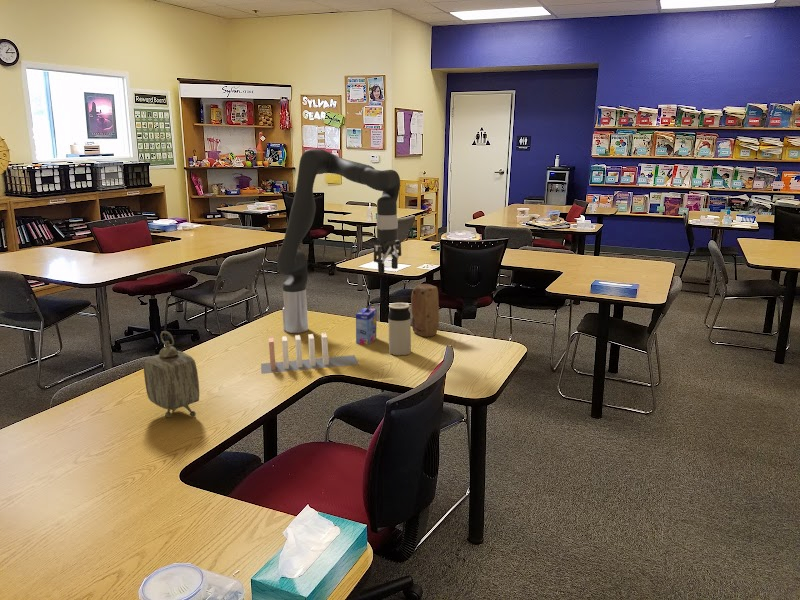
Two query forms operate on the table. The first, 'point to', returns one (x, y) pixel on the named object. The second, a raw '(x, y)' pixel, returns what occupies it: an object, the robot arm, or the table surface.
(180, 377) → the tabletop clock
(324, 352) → the domino
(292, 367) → the mat
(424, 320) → the block
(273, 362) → the domino
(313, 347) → the domino
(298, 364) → the domino
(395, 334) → the travel mug
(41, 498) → the table surface
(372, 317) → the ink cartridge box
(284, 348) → the domino
